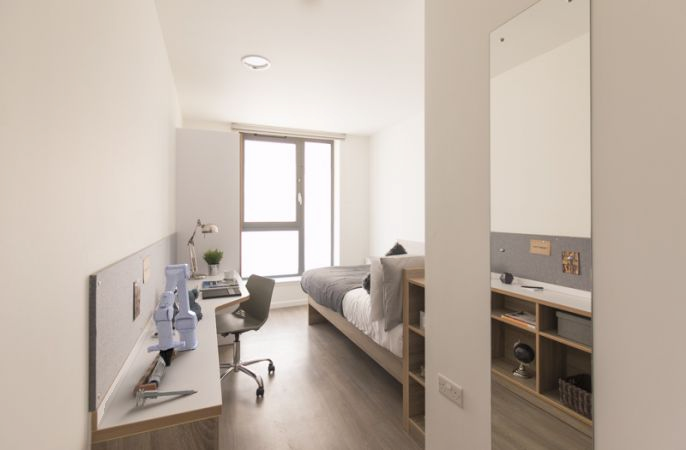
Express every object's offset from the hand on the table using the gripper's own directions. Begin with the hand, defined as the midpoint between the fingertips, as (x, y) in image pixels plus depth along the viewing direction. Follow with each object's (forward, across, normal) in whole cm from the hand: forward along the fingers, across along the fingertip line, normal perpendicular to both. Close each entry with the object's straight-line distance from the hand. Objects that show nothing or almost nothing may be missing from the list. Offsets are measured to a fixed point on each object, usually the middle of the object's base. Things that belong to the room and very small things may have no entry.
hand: (168, 365), depth 146 cm
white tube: (+3, -3, -1) cm, 5 cm away
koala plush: (+3, -5, +72) cm, 72 cm away
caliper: (+3, +5, -23) cm, 23 cm away
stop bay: (+3, -4, 0) cm, 5 cm away
